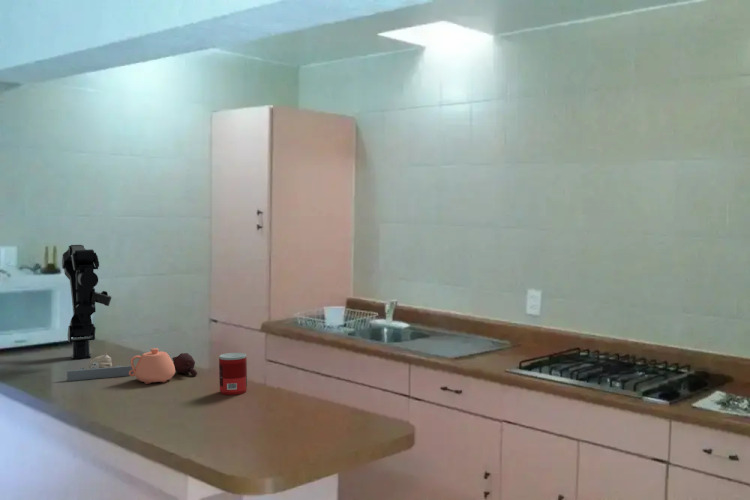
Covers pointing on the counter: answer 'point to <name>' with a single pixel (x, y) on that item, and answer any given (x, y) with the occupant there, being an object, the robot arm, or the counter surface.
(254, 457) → the counter surface
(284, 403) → the counter surface
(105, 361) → the garlic bulb
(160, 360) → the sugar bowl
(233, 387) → the canned food
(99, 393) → the counter surface
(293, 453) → the counter surface
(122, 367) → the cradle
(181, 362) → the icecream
